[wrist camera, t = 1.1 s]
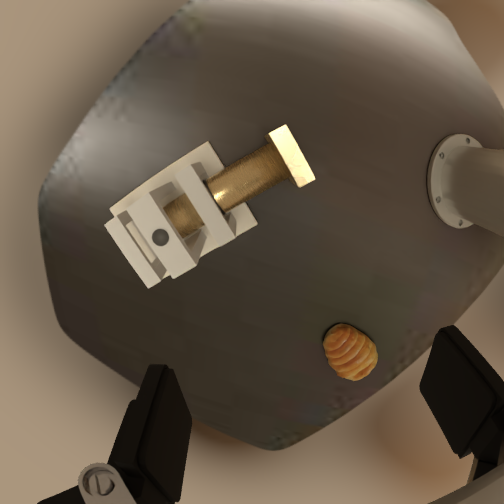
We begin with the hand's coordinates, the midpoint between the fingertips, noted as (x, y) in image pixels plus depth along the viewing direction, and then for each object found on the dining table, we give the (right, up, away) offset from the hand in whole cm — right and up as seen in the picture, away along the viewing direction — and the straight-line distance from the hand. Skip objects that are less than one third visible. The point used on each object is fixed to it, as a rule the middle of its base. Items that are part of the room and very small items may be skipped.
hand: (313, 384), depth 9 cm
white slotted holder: (-10, +9, +22) cm, 25 cm away
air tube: (-5, +11, +20) cm, 23 cm away
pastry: (+11, -9, +30) cm, 33 cm away
